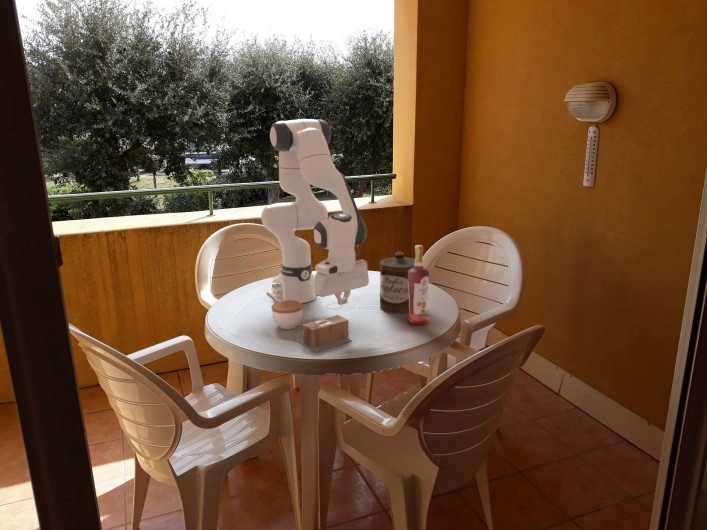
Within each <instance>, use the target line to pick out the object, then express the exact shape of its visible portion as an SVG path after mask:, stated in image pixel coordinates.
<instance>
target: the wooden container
mask: <svg viewBox="0 0 707 530" xmlns="http://www.w3.org/2000/svg"><path fill="white" fill-rule="evenodd" d="M394 256H395V257H394ZM394 256H393V257H387V258H383V259H381V260H380V262H379V269H380V270H379V271H380V272H379V273H380V274H379V275H380V276H379V278H380V279H379V308H380V310H382V311H383V312H386V313H390V314H396V315H397V314H399V315H400V314H401V315H402V314H403V315H404V314H409V290H408V271H409V270H410V269H411V268H414V265H415V258H412V257H408V256H407V257H406V256H405V253H404V252H402V251H397V252H395V253H394Z"/></svg>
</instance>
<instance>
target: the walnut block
mask: <svg viewBox="0 0 707 530" xmlns="http://www.w3.org/2000/svg"><path fill="white" fill-rule="evenodd" d="M349 331H350V330H349V319H347V318H345V317H344V316H341V315H339V314H335V315H331V316H329V317H325V318H322V319H317V320H313V321H311V322H307V323H303V324H302V335H303V342H305V343H306V344H308V345H310V346H311V347H313V348H314V347H317V346H320V345H324V344H327V343H330V342H333V341H337V340H340V339H343V338H349Z"/></svg>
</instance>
